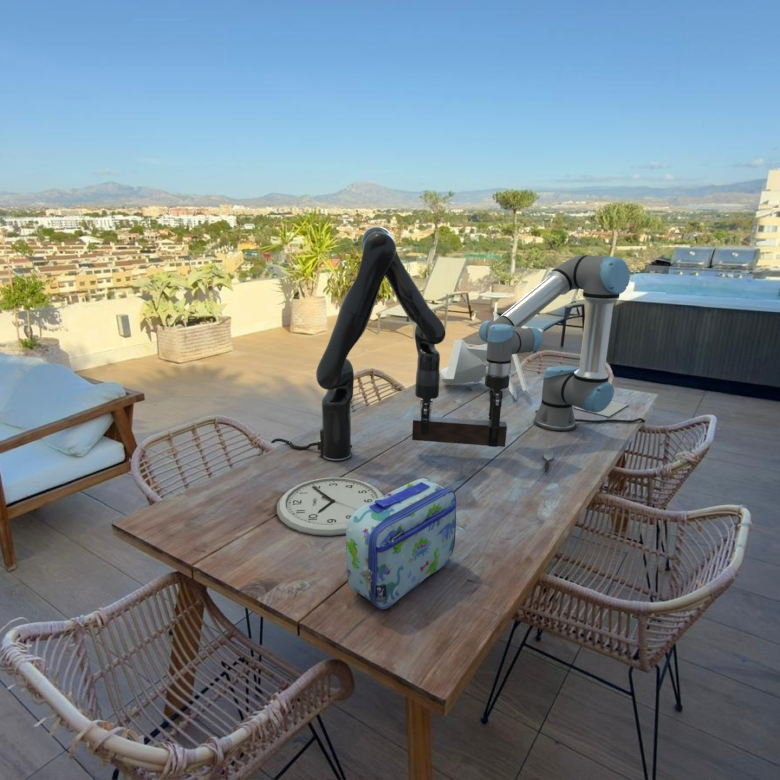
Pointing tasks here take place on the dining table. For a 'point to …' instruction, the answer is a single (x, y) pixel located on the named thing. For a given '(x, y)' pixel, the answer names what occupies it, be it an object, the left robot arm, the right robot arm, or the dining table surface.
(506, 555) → the dining table surface
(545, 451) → the fork
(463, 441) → the walnut beam
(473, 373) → the white plastic object
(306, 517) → the wall clock
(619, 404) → the invitation card
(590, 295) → the right robot arm
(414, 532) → the lunch box
